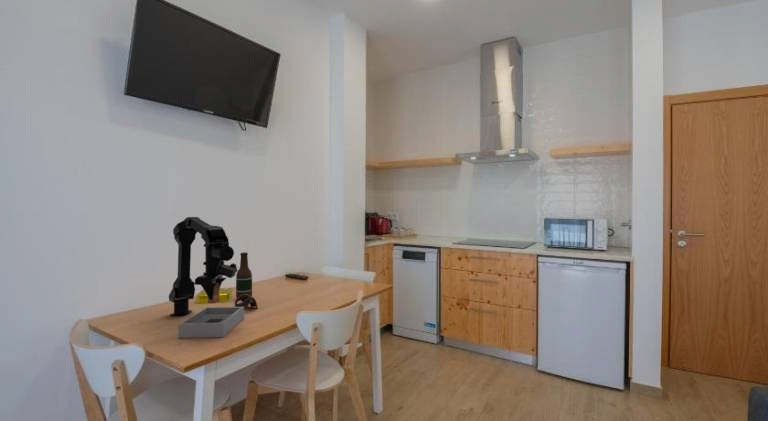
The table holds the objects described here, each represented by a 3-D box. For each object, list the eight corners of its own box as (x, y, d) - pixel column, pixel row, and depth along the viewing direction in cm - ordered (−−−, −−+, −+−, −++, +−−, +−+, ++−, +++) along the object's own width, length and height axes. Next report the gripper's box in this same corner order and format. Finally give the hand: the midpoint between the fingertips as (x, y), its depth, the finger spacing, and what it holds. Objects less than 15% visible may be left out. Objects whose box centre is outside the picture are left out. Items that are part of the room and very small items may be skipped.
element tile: (195, 304, 174) (195, 295, 174) (202, 297, 189) (202, 288, 189) (228, 302, 178) (228, 293, 178) (232, 295, 193) (232, 286, 193)
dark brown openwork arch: (261, 311, 164) (253, 297, 160) (241, 322, 161) (233, 309, 157) (256, 299, 174) (248, 286, 170) (237, 309, 171) (229, 296, 167)
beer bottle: (255, 298, 185) (255, 252, 185) (242, 301, 179) (242, 254, 178) (245, 296, 189) (245, 251, 189) (232, 299, 183) (232, 252, 183)
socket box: (205, 318, 151) (205, 307, 151) (244, 318, 152) (244, 306, 152) (178, 337, 129) (178, 324, 129) (223, 337, 130) (223, 323, 130)
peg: (210, 300, 142) (210, 283, 142) (220, 300, 142) (220, 283, 142) (206, 303, 138) (206, 285, 138) (216, 303, 138) (216, 285, 138)
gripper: (225, 262, 131) (225, 304, 131) (242, 255, 150) (242, 292, 150) (194, 262, 131) (194, 304, 131) (215, 255, 149) (215, 292, 149)
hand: (213, 298), depth 140 cm, fingers closed on peg, 4 cm apart
